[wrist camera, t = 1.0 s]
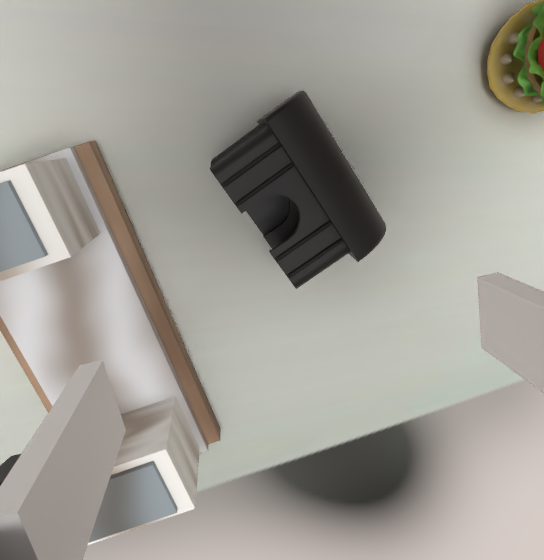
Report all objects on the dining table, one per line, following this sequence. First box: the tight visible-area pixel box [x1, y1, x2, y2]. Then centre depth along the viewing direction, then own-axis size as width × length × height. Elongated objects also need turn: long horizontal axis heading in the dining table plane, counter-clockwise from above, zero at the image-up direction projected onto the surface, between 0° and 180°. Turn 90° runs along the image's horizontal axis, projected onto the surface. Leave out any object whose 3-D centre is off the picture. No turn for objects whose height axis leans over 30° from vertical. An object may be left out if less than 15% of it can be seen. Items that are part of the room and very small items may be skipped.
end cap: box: [210, 91, 386, 289], centre depth 29 cm, size 10×7×7 cm
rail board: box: [0, 142, 220, 545], centre depth 29 cm, size 11×24×9 cm, turn 18°
